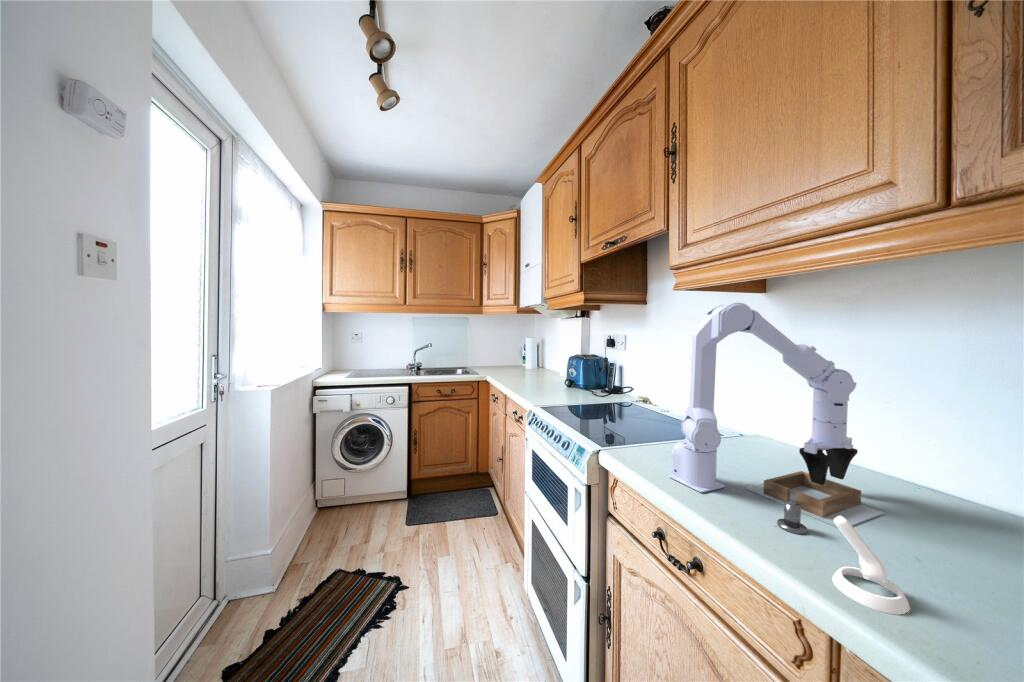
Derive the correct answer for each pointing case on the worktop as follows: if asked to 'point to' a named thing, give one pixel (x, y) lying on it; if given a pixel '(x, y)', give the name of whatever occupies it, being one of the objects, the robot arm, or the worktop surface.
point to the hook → (867, 576)
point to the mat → (851, 515)
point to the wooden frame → (837, 502)
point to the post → (792, 519)
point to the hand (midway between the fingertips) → (827, 480)
